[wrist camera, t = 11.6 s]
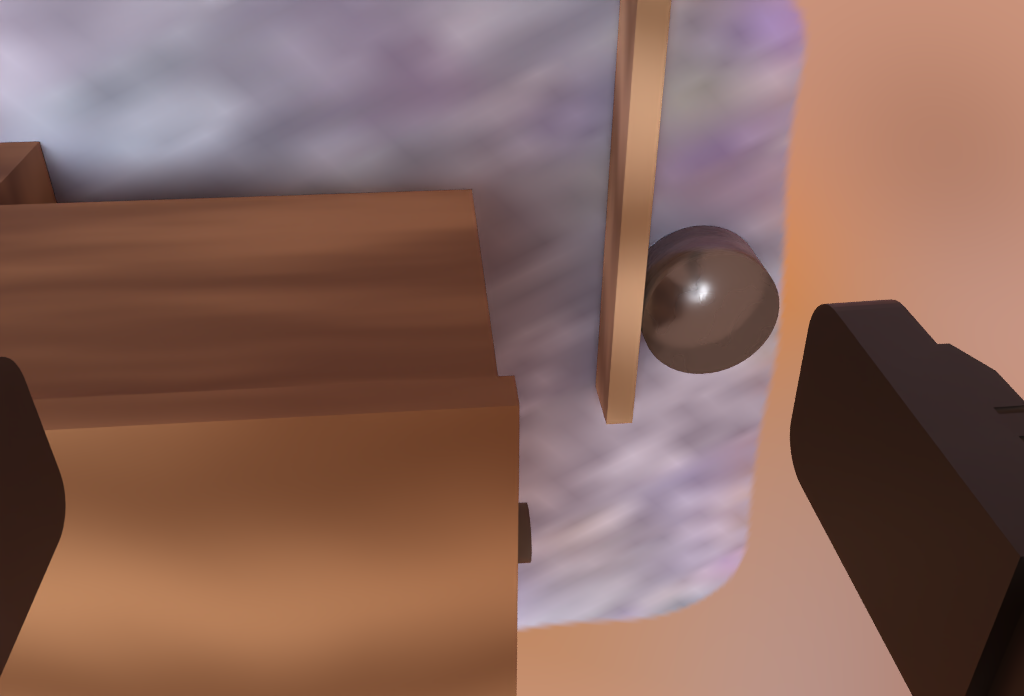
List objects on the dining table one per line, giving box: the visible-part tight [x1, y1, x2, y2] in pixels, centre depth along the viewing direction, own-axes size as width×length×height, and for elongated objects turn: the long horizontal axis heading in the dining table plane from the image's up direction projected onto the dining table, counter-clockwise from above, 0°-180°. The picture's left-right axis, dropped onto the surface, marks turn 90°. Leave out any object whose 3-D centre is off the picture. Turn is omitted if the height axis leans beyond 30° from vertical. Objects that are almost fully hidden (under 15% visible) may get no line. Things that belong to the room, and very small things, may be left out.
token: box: [641, 226, 779, 374], centre depth 34 cm, size 5×5×2 cm
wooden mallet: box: [596, 0, 671, 424], centre depth 29 cm, size 22×4×7 cm, turn 0°
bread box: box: [0, 142, 532, 696], centre depth 28 cm, size 15×16×16 cm
